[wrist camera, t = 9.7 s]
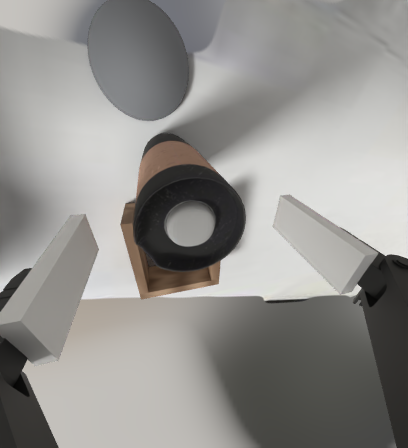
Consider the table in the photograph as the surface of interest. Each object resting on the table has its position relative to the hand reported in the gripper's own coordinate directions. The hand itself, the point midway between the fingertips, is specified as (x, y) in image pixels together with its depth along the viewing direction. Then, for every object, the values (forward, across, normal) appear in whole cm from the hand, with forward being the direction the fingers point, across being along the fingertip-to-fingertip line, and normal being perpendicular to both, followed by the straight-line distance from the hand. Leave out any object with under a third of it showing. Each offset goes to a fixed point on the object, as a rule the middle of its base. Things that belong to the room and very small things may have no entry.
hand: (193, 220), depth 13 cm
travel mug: (+19, 0, 0) cm, 19 cm away
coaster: (+19, -2, +10) cm, 22 cm away
